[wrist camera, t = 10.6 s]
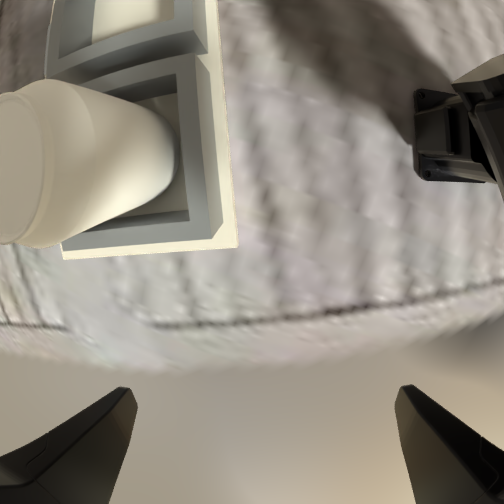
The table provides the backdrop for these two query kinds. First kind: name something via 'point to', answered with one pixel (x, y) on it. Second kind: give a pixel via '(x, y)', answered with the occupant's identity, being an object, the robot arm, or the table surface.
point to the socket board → (161, 101)
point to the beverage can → (76, 160)
